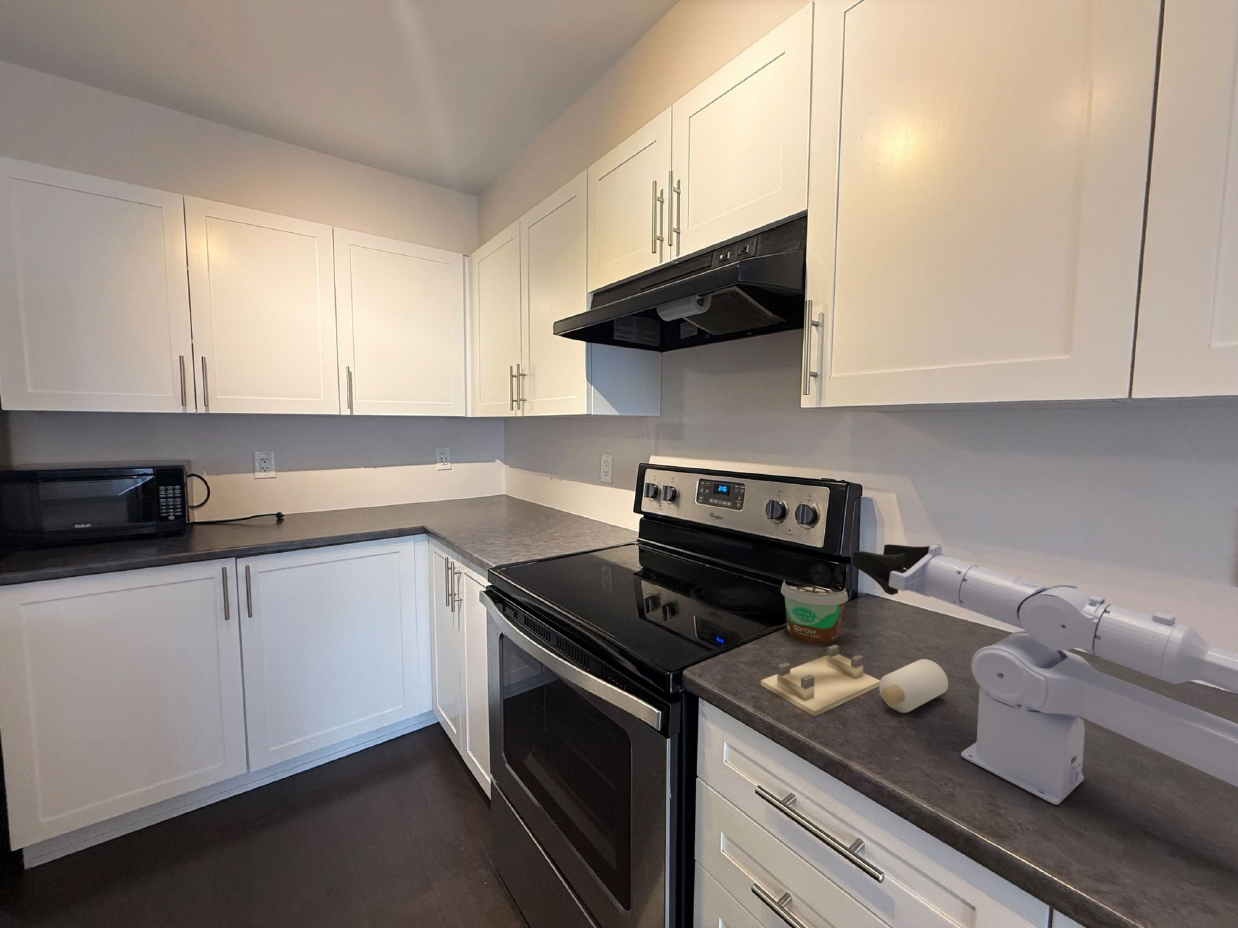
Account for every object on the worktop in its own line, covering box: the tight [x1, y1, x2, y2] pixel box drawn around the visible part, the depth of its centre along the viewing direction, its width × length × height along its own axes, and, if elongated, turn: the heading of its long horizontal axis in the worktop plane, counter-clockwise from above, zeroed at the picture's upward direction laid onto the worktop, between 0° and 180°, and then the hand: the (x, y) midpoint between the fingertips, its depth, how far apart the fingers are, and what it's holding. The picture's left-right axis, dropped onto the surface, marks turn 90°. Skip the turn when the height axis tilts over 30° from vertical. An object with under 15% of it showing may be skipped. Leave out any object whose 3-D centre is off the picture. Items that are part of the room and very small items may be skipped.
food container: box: [780, 579, 849, 645], centre depth 95 cm, size 12×6×10 cm, turn 62°
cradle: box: [760, 644, 881, 718], centre depth 78 cm, size 10×16×4 cm, turn 121°
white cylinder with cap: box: [878, 658, 949, 714], centre depth 74 cm, size 5×12×5 cm, turn 121°
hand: (870, 554), depth 75 cm, fingers open, 7 cm apart
